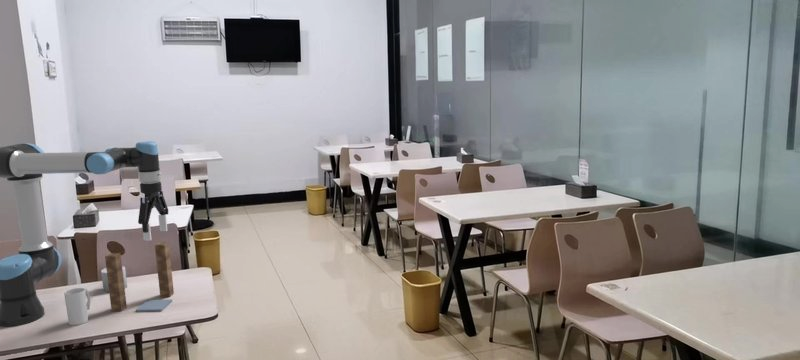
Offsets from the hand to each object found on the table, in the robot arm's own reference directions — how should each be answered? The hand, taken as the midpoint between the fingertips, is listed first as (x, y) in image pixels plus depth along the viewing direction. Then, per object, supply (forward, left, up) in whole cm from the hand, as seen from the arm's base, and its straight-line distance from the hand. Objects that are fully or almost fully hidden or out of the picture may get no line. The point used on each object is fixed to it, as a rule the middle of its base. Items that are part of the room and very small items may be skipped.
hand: (155, 235), depth 227 cm
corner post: (-15, -6, -28) cm, 32 cm away
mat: (-2, -4, -28) cm, 28 cm away
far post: (-2, +8, -28) cm, 29 cm away
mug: (-24, -16, -28) cm, 40 cm away
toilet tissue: (-28, +19, -28) cm, 44 cm away
